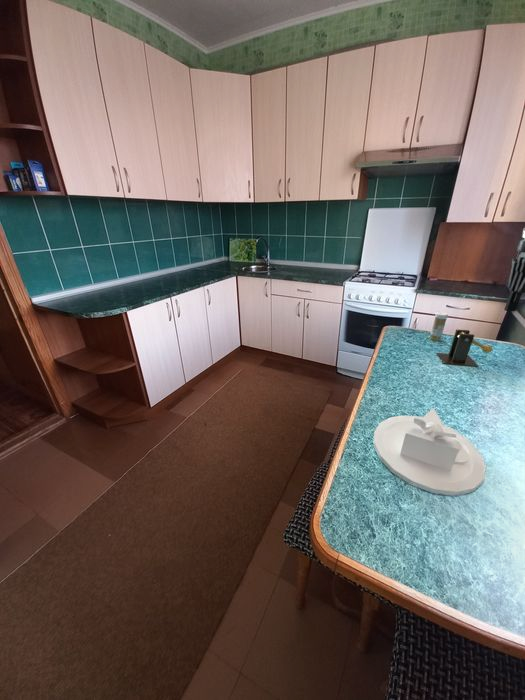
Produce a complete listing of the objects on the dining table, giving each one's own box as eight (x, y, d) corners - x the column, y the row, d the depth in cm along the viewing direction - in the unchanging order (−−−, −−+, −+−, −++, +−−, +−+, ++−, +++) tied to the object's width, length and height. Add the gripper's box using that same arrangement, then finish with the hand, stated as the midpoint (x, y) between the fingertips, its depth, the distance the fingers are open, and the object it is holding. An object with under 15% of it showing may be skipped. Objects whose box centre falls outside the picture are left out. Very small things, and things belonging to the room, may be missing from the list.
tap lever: (485, 352, 111) (492, 345, 110) (489, 356, 108) (496, 349, 107) (455, 336, 111) (461, 329, 109) (458, 340, 108) (465, 333, 107)
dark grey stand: (467, 358, 116) (477, 328, 111) (477, 369, 109) (488, 338, 103) (435, 355, 119) (443, 326, 113) (442, 366, 111) (451, 336, 105)
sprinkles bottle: (426, 339, 133) (434, 311, 127) (437, 339, 133) (444, 311, 127) (431, 343, 129) (439, 315, 123) (442, 343, 129) (450, 315, 123)
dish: (490, 514, 58) (511, 476, 53) (363, 467, 70) (370, 431, 64) (479, 437, 78) (494, 403, 72) (381, 409, 89) (387, 378, 83)
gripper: (511, 237, 98) (488, 304, 108) (534, 241, 86) (507, 316, 97) (537, 236, 96) (511, 305, 107) (564, 241, 85) (533, 317, 95)
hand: (509, 310), depth 102 cm, fingers closed
